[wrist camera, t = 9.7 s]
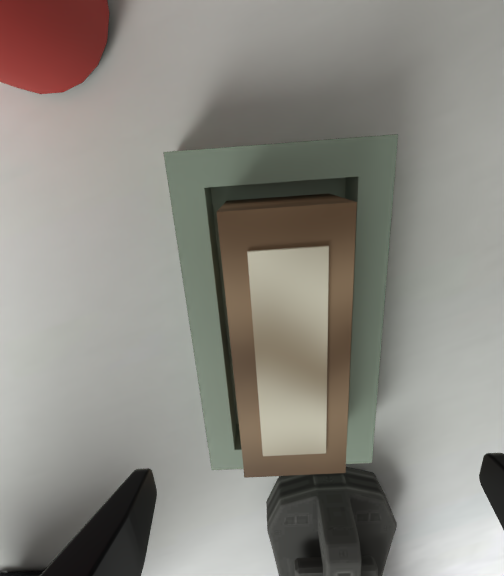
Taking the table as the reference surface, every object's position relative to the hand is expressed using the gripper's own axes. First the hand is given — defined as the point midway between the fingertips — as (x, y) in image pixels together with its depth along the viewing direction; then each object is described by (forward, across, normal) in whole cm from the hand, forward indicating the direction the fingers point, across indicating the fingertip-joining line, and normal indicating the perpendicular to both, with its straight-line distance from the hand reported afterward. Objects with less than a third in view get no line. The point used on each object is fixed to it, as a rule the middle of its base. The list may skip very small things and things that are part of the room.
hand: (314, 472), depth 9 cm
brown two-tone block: (+10, 0, 0) cm, 10 cm away
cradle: (+11, 0, 0) cm, 11 cm away
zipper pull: (+11, -3, +25) cm, 28 cm away
